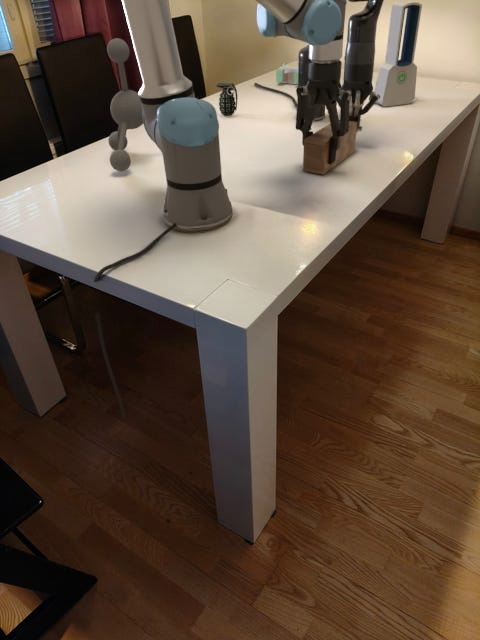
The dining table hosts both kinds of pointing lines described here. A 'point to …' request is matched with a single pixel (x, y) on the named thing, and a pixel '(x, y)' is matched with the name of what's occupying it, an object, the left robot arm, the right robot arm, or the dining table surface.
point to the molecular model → (123, 108)
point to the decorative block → (288, 73)
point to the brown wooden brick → (327, 149)
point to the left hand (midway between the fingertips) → (320, 160)
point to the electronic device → (398, 74)
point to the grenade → (227, 99)
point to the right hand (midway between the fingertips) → (353, 129)
